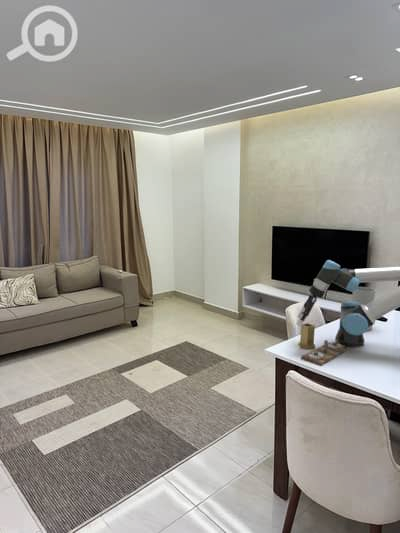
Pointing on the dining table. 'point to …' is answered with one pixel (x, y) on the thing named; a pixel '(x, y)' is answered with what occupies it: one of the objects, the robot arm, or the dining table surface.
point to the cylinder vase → (364, 297)
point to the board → (325, 353)
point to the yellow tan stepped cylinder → (307, 336)
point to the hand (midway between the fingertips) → (299, 321)
